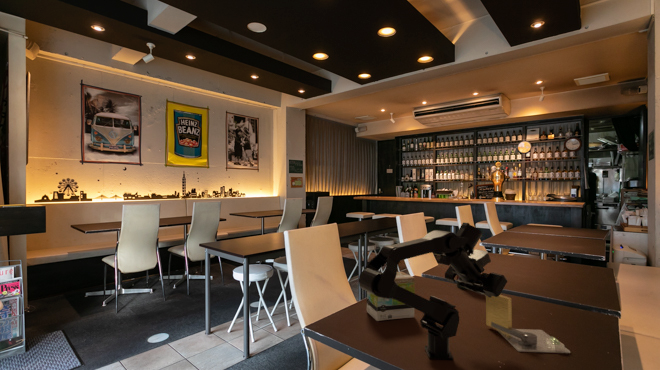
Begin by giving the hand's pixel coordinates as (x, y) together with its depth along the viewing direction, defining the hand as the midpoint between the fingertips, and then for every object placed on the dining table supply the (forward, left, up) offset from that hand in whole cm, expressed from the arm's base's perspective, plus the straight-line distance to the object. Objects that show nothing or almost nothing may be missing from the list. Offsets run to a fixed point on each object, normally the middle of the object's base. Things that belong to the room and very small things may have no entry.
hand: (487, 295), depth 100 cm
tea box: (+18, +28, -14) cm, 36 cm away
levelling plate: (0, -13, -14) cm, 19 cm away
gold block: (+2, -8, -13) cm, 15 cm away
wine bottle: (+54, -11, -14) cm, 57 cm away
